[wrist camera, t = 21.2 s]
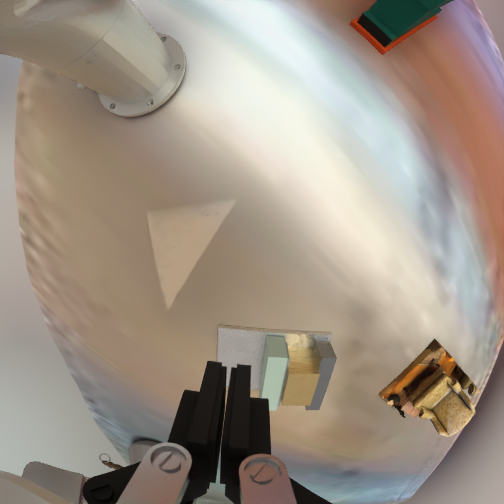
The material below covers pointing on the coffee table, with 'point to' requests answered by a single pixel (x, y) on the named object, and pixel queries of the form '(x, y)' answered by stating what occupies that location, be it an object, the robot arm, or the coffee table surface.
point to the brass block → (300, 377)
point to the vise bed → (253, 348)
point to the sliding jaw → (274, 370)
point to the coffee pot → (134, 453)
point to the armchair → (433, 391)
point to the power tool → (395, 20)
